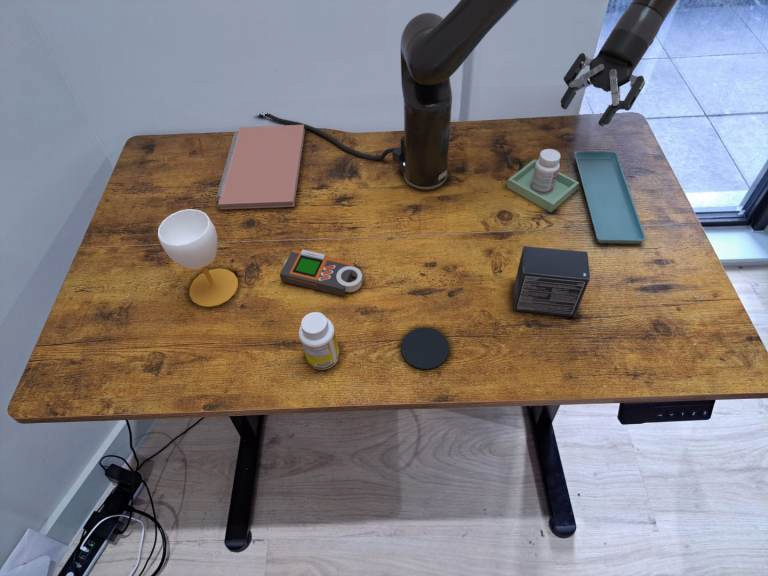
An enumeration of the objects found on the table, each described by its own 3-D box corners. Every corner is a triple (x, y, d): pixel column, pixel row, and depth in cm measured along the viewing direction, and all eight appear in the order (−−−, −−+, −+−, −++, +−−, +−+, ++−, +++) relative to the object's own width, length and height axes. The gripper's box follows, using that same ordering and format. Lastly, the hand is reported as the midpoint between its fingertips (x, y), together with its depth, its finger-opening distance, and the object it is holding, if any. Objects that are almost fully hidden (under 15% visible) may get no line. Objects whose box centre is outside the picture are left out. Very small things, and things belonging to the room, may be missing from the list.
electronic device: (355, 291, 90) (277, 272, 92) (356, 300, 92) (280, 282, 95) (367, 263, 94) (291, 245, 96) (367, 273, 96) (293, 255, 99)
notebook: (236, 133, 125) (234, 126, 123) (305, 130, 124) (303, 123, 123) (215, 210, 108) (212, 203, 106) (294, 207, 108) (292, 200, 106)
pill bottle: (553, 196, 106) (562, 163, 99) (529, 193, 107) (537, 161, 100) (553, 181, 109) (562, 148, 102) (530, 179, 109) (538, 146, 103)
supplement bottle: (323, 336, 87) (314, 301, 79) (346, 354, 85) (340, 319, 77) (299, 358, 85) (288, 324, 77) (323, 377, 82) (314, 344, 74)
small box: (573, 289, 91) (589, 249, 83) (575, 318, 87) (592, 280, 79) (513, 282, 93) (523, 243, 85) (512, 311, 89) (523, 273, 81)
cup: (185, 278, 97) (151, 217, 84) (232, 263, 99) (206, 201, 86) (194, 314, 91) (159, 254, 79) (243, 296, 93) (217, 236, 81)
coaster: (391, 349, 85) (391, 347, 85) (423, 320, 89) (424, 319, 88) (426, 379, 82) (426, 377, 81) (458, 348, 85) (459, 347, 84)
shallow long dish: (643, 247, 97) (648, 238, 95) (594, 247, 97) (598, 238, 95) (613, 160, 113) (616, 151, 111) (571, 160, 113) (573, 151, 111)
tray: (506, 187, 109) (508, 179, 107) (532, 167, 112) (534, 159, 111) (550, 212, 104) (553, 204, 102) (576, 190, 107) (579, 182, 106)
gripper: (594, 16, 97) (546, 96, 102) (665, 41, 91) (610, 125, 95) (601, 34, 103) (555, 108, 108) (668, 58, 97) (616, 136, 101)
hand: (581, 116), depth 101 cm, fingers open, 8 cm apart
